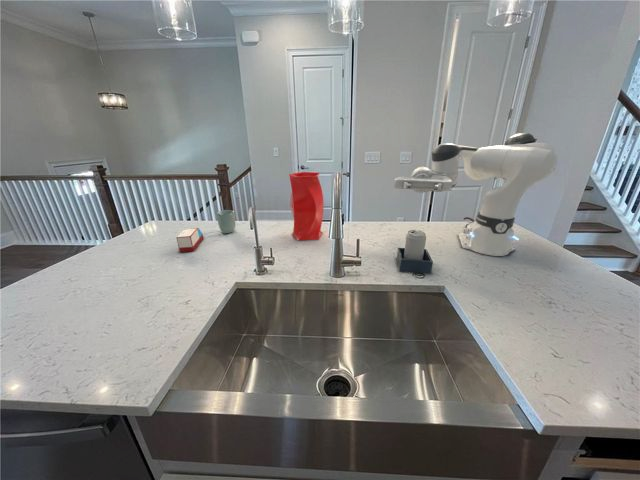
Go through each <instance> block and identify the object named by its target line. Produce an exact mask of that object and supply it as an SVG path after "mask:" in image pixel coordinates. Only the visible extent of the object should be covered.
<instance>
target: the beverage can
mask: <svg viewBox="0 0 640 480" xmlns="http://www.w3.org/2000/svg"><path fill="white" fill-rule="evenodd" d="M426 240H427V236H426V232H425V231H422V230H418V229H411V230H408V231H407V234H406V235H405V242H404V243H405V244H404V248H405V250H404V258H403V259H406V260H423V255H424V249H426V242H427V241H426Z"/></svg>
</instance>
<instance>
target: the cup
mask: <svg viewBox="0 0 640 480" xmlns="http://www.w3.org/2000/svg"><path fill="white" fill-rule="evenodd" d="M216 218H217V224H218V228H219V230H220V232H221V233H223V234H231V233H233V232H234V231H235V230H236V227H237V226H236V225H237V224H236V216H235V211H234V210H233V209H223V210H219V211H217V212H216Z"/></svg>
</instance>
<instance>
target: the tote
mask: <svg viewBox="0 0 640 480" xmlns="http://www.w3.org/2000/svg"><path fill="white" fill-rule="evenodd" d="M404 250H405V247H397V251H396V262H397V267H398V270H399V272H400V273H409V274H410V273H411V274H412V273H413V274H424V275H425V274H427V275H431V274H432V271H433V265H434V261H433V259H432V257H431V255H430V253H429V251H428V249H427V248H424V255H423V260H406V259H403V258H404Z"/></svg>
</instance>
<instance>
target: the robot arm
mask: <svg viewBox="0 0 640 480" xmlns="http://www.w3.org/2000/svg"><path fill="white" fill-rule="evenodd" d="M536 141H538V139H537V138H535V137H534V135H533V134H531V133H529V132H528V133H527V132H519V133H515V134H514V135H512V136H510V137H509V138H507V139H505V141H504V144H502V145H500V144H499V145H492V146H491V145H490V146H483V147H476V146H475V147H474V146H467V145H459V144H456V143H455V144H454V143H451V142H443V143H440V144H437V145H436V146H435V147H434V148H433V149H432V151H431V161H432V163H431V169H430V168H429V167H427V166H419V167H416V168H415V169H414V170H413V171H412V172H411V174H410V176H397V177H396V178H394V181H393V182H394V183H393V188H394V189H397V190H398V189H399V190H413V191H414V192H416V193H419V194H423V193H430V192H437V193H438V192H451V191H452V188H454V187H455V186H456V185H457V184H458V175H459V172H458V171H459V160H460V157H462V160H463V169H464V174H465V175H466V176H467V177H468V178H469V179H470V180H472V181H479V182H480V181H485V180H489V179H491V178H496V179H502V180H504V182H503V184H502V185H501V186H498V187H497V186H496V187H494V188H491V189H489V190H488V191H486V192H485V193H484V195H483V197H482V201H481V205H480V209H479V211H477V215H476V218H475V220H474V219H473V218H472V217H468V216H466V217H463V220H470V221H471V223H468V224H465V227H464V228H463V232H461V233H458V239H459V241H460V245H461V247H462V248H463V249H466V250H470V251H473V252H475V253H478V254H482V255H487V256H494V257H503V256H507V255H509V254H510V253H511V252H513V251H514V250H515V247H514V246H513V240H516V241H519V240H520V238H518V237H517V236H515V235H514V234H515V230H514V229H513V227H514V224H515V218H516V217H515V214H516V210H517V208H518V205H519V203H520V200H521V198H522V196H523V195H524V194H525V192H526V191H528V190H529V189H530V188H531V187H532V186H533V185H535V184H537V183H539V182H541V181H544V180H546V179H548V178H549V177H550V176H551V175H552V174H553V173H554V171H555V170H556V168H557V166H558V156H557V154H556V152H555V148H553V146H551V144H548V143H546V142H539V141H538V142H536Z"/></svg>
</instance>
